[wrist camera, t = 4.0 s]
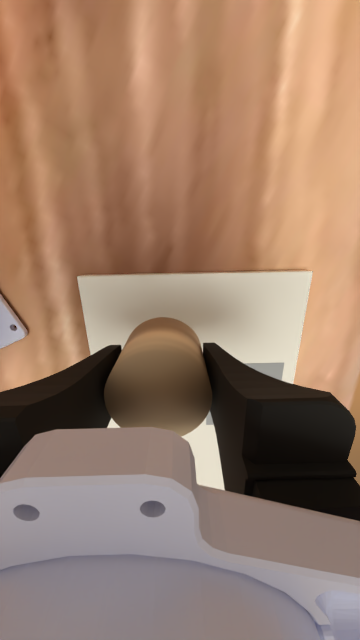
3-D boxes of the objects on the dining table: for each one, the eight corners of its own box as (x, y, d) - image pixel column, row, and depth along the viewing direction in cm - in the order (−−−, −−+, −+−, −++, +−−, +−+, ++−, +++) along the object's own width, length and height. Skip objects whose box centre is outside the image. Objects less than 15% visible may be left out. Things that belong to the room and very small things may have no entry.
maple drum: (111, 336, 12) (82, 376, 9) (183, 304, 12) (186, 333, 8) (147, 394, 14) (135, 452, 10) (212, 369, 13) (227, 420, 9)
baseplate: (81, 274, 16) (76, 276, 15) (306, 269, 16) (313, 271, 15) (117, 488, 23) (115, 497, 22) (270, 485, 23) (274, 493, 22)
